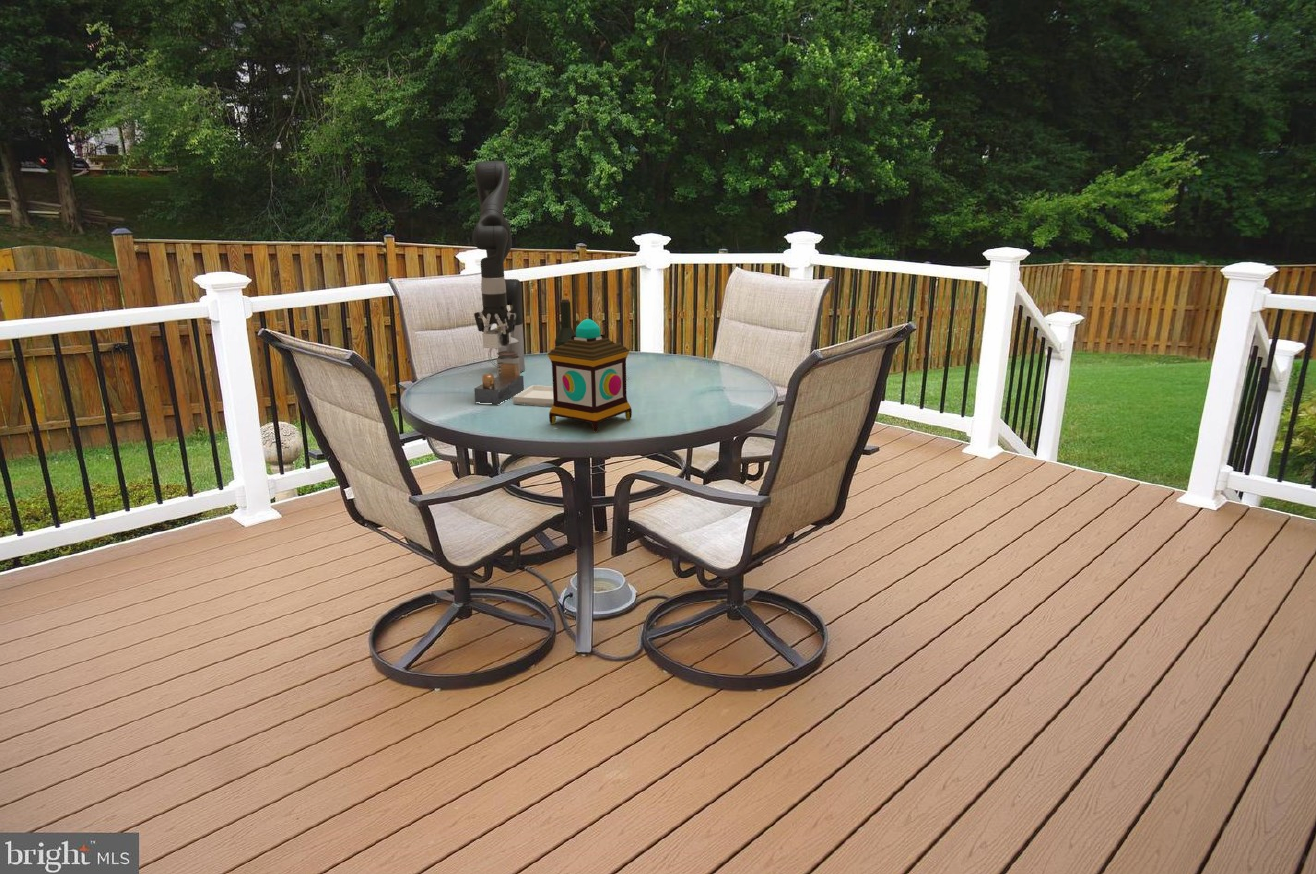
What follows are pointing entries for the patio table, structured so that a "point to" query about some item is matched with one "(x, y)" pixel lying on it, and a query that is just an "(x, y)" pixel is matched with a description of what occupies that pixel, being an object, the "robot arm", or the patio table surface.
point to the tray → (535, 396)
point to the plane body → (500, 385)
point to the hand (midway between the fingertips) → (497, 344)
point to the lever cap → (494, 338)
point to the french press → (506, 355)
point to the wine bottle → (565, 324)
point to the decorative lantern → (589, 377)
